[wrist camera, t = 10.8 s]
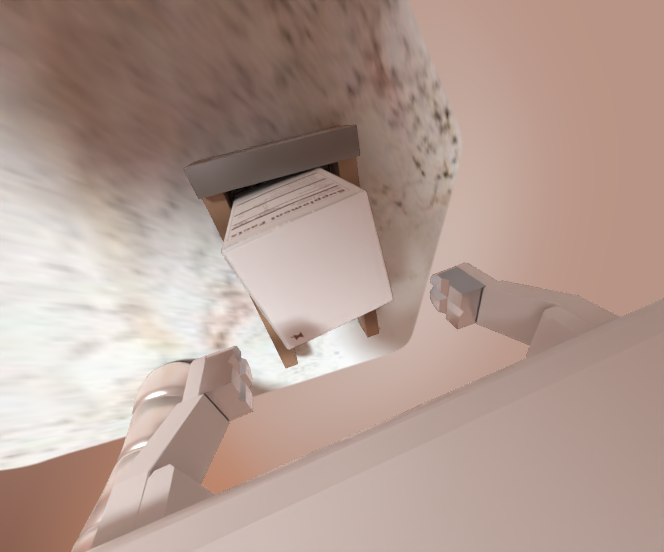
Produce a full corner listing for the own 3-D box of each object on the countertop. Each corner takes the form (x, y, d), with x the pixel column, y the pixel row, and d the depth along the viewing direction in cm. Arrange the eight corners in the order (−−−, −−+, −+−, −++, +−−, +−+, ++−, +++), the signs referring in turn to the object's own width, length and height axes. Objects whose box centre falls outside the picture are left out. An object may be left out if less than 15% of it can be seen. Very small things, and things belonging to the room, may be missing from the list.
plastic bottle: (218, 360, 29) (179, 656, 13) (196, 397, 31) (137, 695, 15) (157, 348, 26) (1, 718, 10) (136, 389, 28) (-23, 759, 12)
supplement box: (336, 233, 26) (397, 303, 15) (270, 261, 25) (285, 355, 15) (311, 159, 21) (371, 186, 11) (231, 192, 21) (214, 253, 10)
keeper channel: (194, 162, 19) (183, 168, 16) (339, 125, 21) (356, 125, 17) (282, 349, 31) (286, 375, 28) (369, 318, 33) (382, 338, 30)
